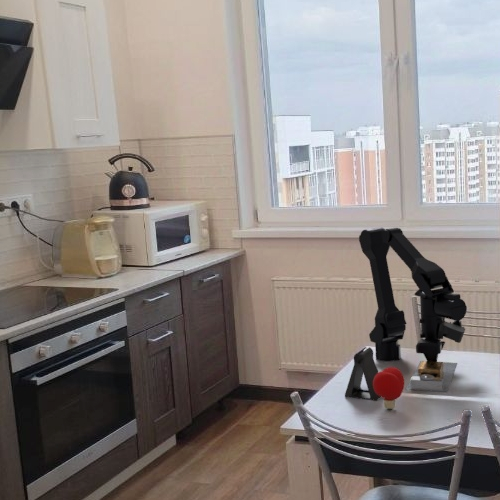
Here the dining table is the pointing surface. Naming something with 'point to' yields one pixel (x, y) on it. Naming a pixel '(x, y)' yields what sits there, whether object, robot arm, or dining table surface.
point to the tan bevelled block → (431, 368)
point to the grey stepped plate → (432, 380)
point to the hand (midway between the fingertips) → (433, 369)
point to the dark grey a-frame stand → (366, 366)
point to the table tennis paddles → (389, 386)
